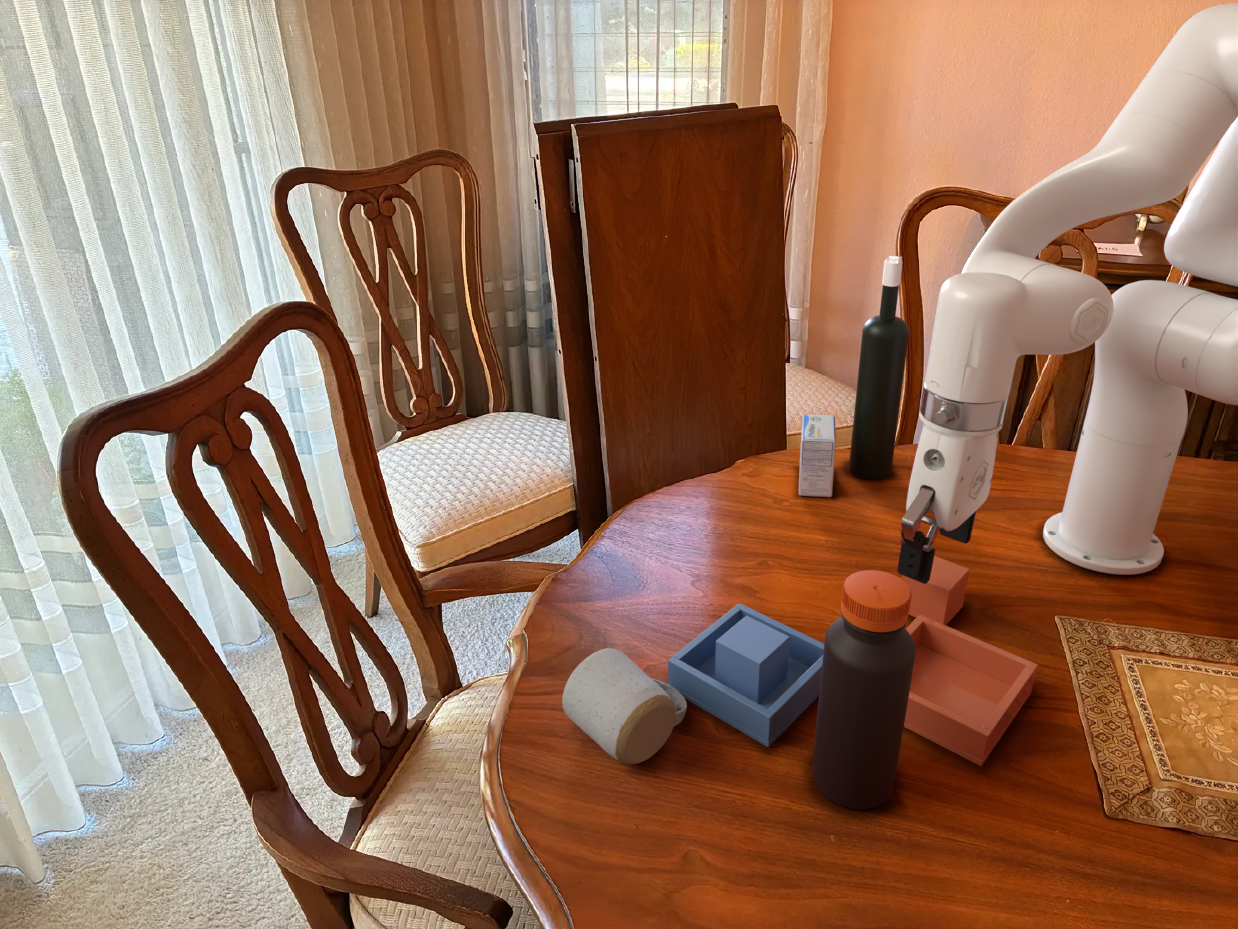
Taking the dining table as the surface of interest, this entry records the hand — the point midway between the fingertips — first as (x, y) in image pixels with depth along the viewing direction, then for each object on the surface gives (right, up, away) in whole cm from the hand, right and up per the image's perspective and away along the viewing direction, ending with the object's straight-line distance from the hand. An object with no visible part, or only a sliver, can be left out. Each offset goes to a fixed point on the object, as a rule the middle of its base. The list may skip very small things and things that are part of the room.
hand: (934, 557), depth 89 cm
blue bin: (-20, -12, -6) cm, 24 cm away
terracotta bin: (-2, -12, -8) cm, 15 cm away
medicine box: (-6, +7, +28) cm, 30 cm away
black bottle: (-13, -17, -16) cm, 27 cm away
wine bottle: (+2, +9, +31) cm, 32 cm away
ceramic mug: (-32, -15, -10) cm, 36 cm away
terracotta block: (+1, -6, +4) cm, 7 cm away
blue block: (-20, -11, -6) cm, 24 cm away
